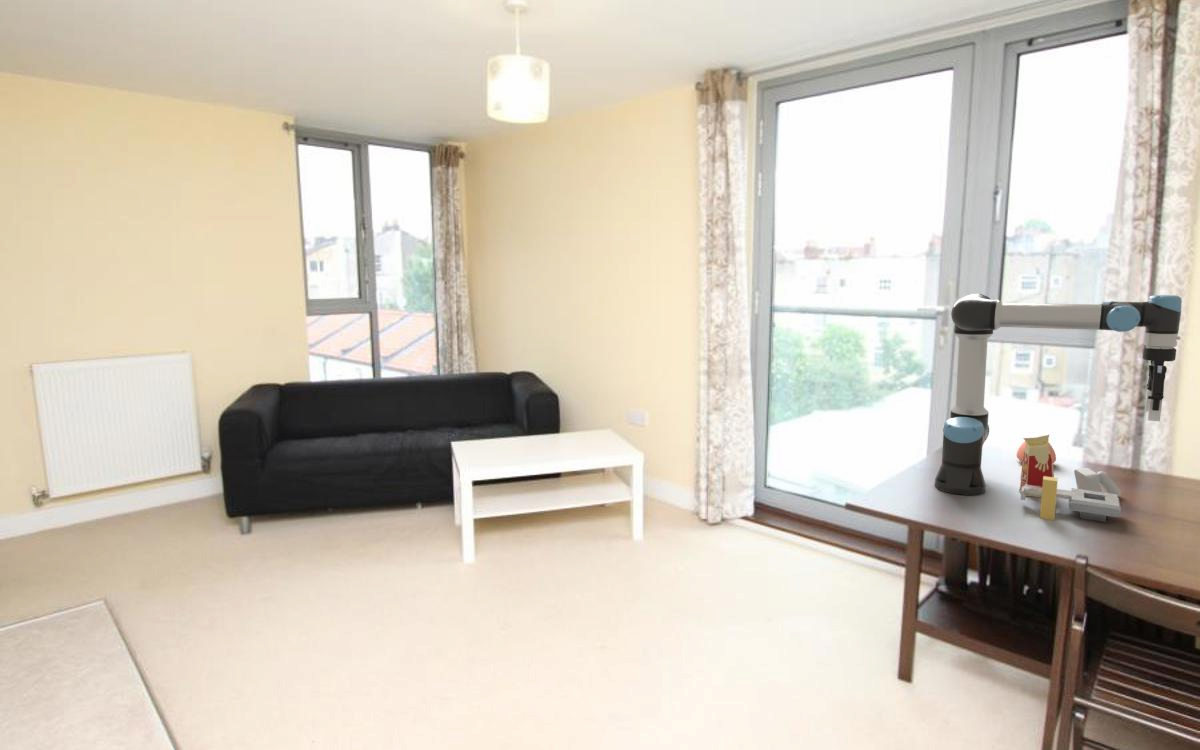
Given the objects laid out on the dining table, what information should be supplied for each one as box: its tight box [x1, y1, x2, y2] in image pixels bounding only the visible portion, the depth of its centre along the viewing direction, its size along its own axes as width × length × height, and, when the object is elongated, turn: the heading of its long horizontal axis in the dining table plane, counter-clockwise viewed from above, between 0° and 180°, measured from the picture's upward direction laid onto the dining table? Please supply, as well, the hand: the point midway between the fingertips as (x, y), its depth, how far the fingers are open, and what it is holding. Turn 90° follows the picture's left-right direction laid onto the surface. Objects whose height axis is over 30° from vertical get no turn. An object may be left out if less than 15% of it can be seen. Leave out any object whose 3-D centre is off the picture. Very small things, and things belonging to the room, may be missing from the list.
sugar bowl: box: [1016, 440, 1057, 464], centre depth 242 cm, size 12×14×10 cm
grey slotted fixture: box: [1020, 484, 1122, 523], centre depth 196 cm, size 24×12×6 cm, turn 54°
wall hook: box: [1073, 467, 1122, 498], centre depth 208 cm, size 8×10×10 cm
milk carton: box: [1018, 434, 1055, 498], centre depth 212 cm, size 9×9×20 cm
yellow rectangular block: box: [1039, 476, 1059, 521], centre depth 193 cm, size 4×4×12 cm
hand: (1152, 416), depth 198 cm, fingers open, 13 cm apart
